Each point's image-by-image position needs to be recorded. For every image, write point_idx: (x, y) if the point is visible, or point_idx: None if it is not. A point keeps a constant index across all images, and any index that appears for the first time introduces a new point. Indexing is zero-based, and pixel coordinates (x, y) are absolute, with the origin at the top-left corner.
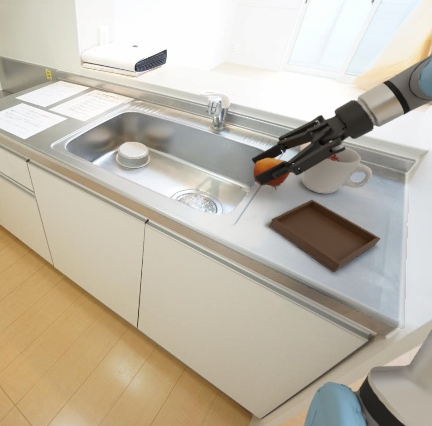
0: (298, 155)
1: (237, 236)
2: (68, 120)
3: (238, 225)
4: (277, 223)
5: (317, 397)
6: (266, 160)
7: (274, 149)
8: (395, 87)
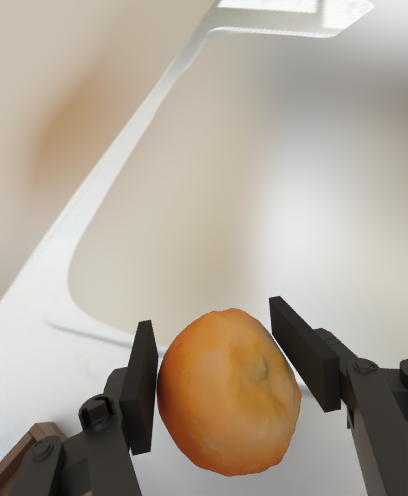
0: (110, 490)
1: (4, 338)
2: (310, 15)
3: (47, 335)
4: (19, 443)
5: None
6: (215, 334)
7: (311, 357)
8: None
